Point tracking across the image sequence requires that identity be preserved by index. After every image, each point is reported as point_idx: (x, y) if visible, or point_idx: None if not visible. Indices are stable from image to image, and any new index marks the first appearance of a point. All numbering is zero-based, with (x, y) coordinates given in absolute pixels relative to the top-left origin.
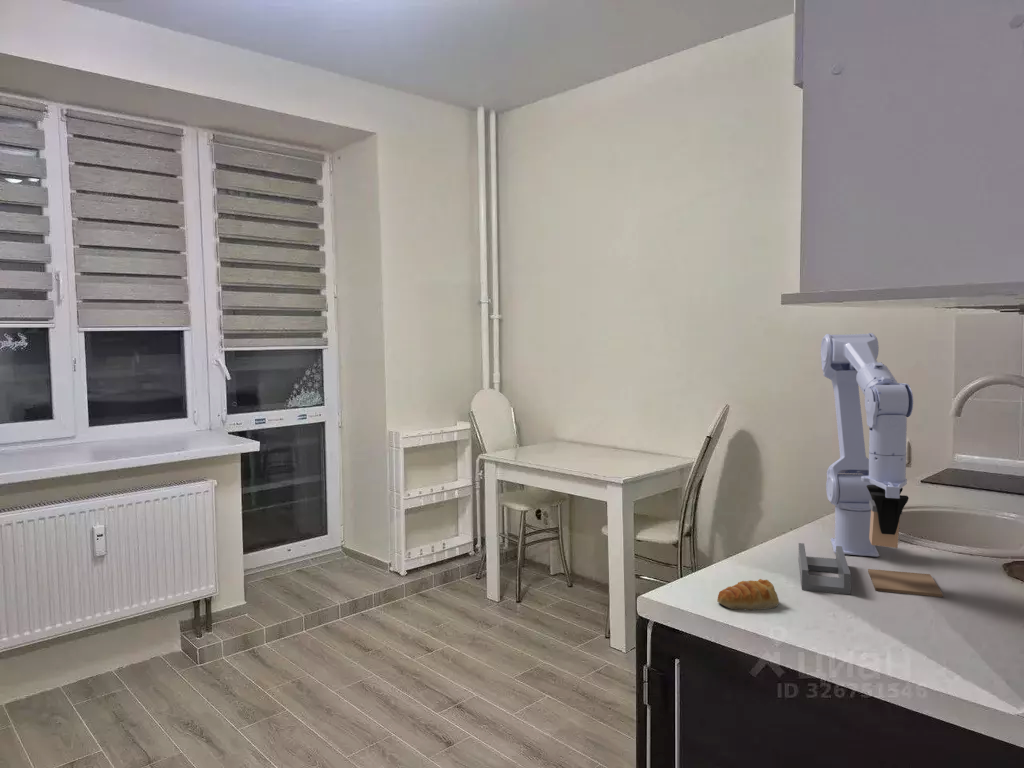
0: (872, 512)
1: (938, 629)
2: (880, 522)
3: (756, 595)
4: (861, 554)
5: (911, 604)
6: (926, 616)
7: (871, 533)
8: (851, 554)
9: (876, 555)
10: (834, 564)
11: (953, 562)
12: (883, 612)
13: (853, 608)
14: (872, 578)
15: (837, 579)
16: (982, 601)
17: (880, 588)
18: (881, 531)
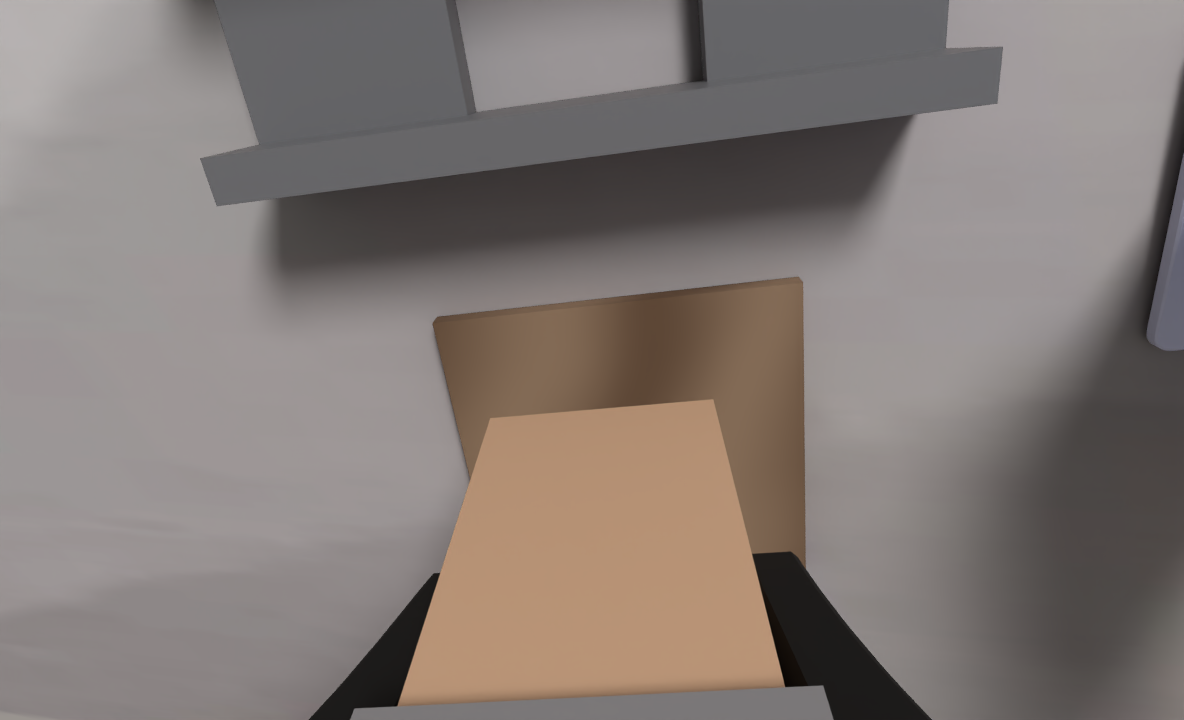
0: (574, 661)
1: (76, 541)
2: (356, 667)
3: None
4: (1172, 236)
5: (322, 468)
6: (200, 514)
7: (553, 467)
8: (1182, 162)
9: (1152, 334)
10: (779, 46)
11: (1099, 679)
12: (121, 348)
13: (70, 203)
14: (605, 307)
15: (413, 91)
16: None
17: (439, 347)
18: (423, 587)
